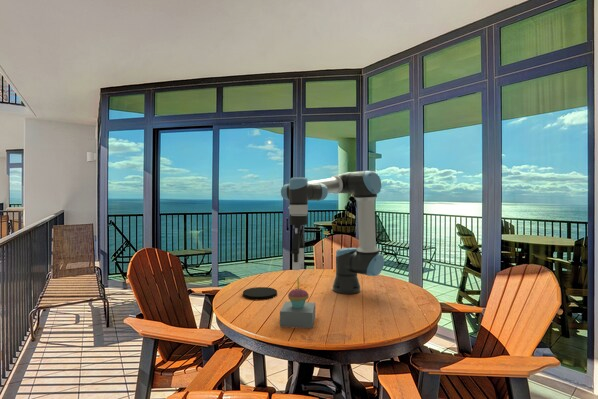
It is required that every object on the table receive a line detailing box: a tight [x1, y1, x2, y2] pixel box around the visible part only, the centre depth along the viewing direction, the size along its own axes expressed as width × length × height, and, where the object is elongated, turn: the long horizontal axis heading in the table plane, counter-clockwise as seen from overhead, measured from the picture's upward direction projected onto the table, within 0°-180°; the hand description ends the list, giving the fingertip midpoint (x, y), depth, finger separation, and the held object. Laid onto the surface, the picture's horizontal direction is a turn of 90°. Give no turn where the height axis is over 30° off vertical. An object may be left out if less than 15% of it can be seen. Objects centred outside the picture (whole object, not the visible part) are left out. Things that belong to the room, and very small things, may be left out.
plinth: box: [279, 300, 316, 329], centre depth 141 cm, size 13×13×6 cm
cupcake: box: [288, 278, 310, 308], centre depth 141 cm, size 9×8×12 cm
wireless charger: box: [242, 286, 278, 301], centre depth 179 cm, size 18×18×2 cm
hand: (298, 266), depth 141 cm, fingers open, 13 cm apart
